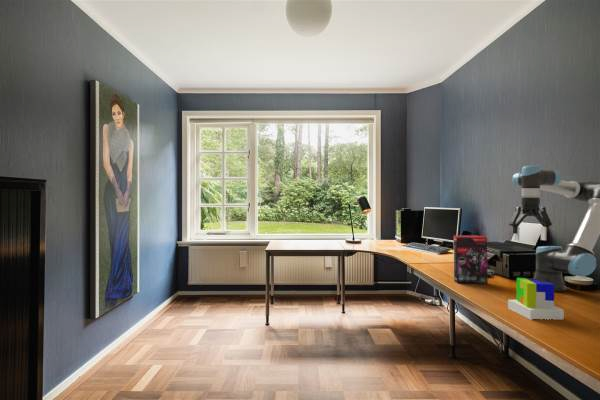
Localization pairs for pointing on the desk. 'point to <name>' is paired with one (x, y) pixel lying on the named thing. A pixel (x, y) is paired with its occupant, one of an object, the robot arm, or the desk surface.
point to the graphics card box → (470, 259)
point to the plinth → (536, 311)
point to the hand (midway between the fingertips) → (530, 240)
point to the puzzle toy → (535, 293)
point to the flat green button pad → (490, 272)
